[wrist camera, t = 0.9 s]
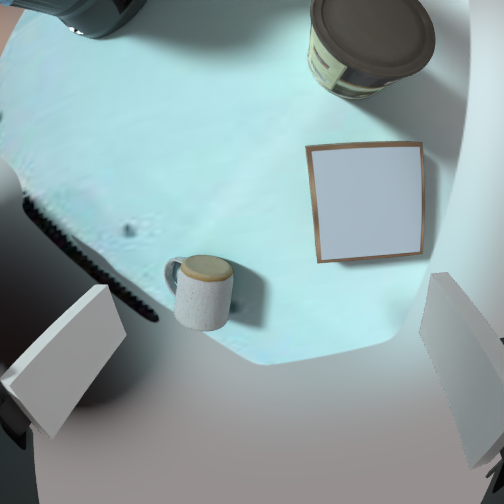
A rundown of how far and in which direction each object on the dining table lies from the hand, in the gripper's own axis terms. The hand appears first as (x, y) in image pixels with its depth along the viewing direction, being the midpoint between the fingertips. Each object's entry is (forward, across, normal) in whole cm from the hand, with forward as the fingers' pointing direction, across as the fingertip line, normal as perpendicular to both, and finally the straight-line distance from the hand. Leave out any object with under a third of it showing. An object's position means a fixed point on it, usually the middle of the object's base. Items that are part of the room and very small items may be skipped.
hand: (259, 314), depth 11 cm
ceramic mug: (+27, -13, -12) cm, 32 cm away
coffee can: (+27, +9, +15) cm, 33 cm away
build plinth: (+27, +9, -2) cm, 28 cm away
